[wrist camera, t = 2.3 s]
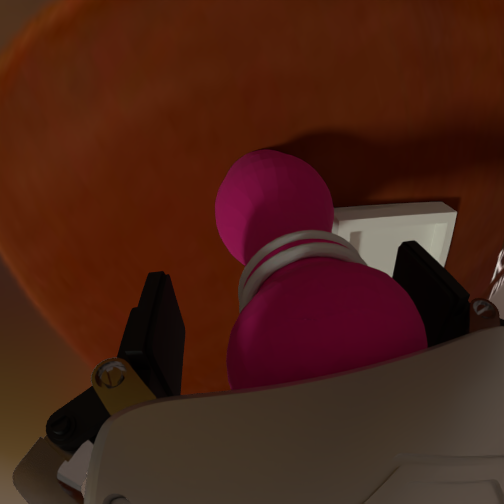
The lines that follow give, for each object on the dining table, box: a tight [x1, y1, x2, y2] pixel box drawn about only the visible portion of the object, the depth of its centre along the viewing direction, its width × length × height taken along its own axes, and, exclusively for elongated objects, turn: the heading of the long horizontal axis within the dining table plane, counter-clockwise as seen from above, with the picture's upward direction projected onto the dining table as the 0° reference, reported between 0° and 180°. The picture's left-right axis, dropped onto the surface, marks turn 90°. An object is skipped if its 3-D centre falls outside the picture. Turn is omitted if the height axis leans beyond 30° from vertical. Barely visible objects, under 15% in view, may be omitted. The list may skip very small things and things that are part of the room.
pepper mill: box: [215, 149, 428, 390], centre depth 13 cm, size 7×7×20 cm
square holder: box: [332, 202, 457, 278], centre depth 25 cm, size 12×12×2 cm
